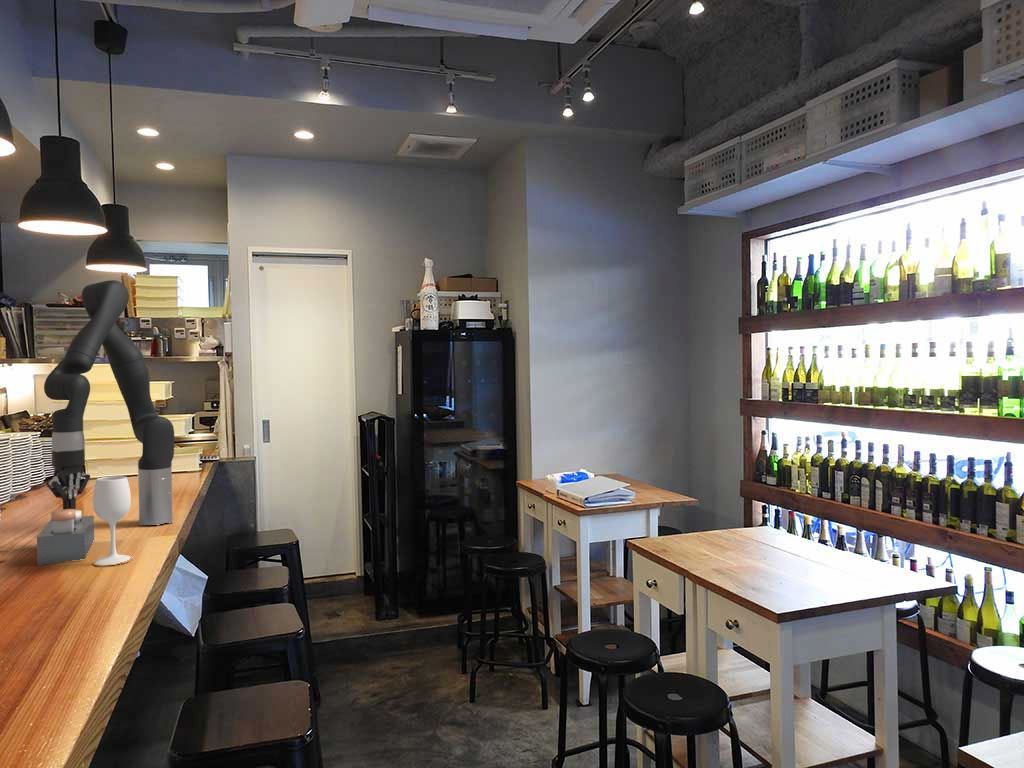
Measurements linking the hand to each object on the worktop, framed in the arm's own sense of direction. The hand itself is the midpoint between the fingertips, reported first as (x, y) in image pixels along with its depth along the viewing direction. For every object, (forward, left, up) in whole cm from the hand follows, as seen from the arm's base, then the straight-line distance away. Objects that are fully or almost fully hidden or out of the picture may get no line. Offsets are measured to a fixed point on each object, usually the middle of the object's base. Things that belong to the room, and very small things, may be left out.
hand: (69, 512), depth 189 cm
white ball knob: (0, 0, -7) cm, 7 cm away
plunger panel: (0, +6, -9) cm, 11 cm away
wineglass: (-12, +22, -10) cm, 26 cm away
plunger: (0, +12, -4) cm, 13 cm away
